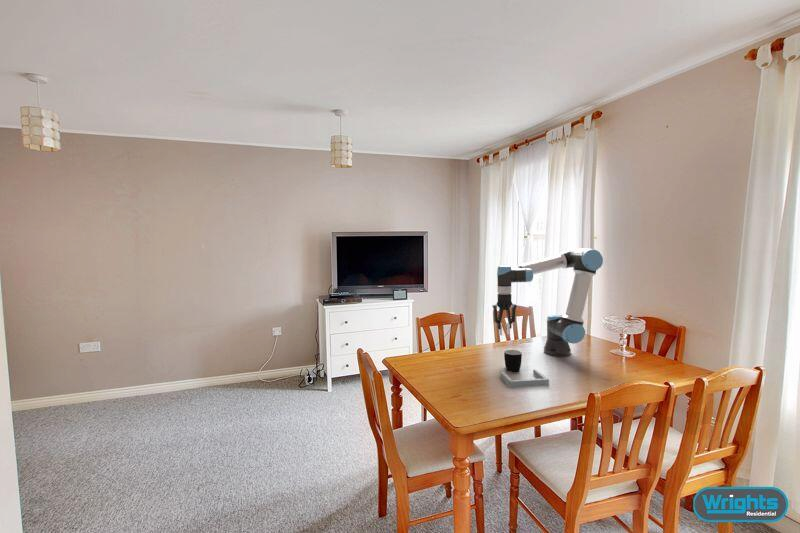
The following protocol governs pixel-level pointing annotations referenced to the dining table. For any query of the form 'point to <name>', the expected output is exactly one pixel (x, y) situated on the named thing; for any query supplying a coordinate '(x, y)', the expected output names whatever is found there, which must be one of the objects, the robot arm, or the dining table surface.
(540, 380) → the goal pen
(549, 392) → the dining table surface
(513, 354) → the mug
